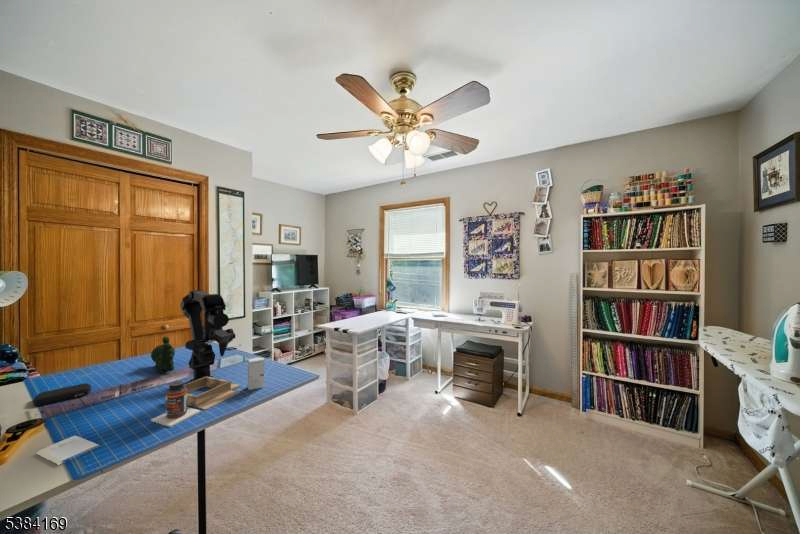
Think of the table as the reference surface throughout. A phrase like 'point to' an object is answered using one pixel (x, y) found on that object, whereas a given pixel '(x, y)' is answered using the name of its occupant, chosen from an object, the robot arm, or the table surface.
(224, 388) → the carton
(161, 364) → the dark green lumpy piece
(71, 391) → the carrying case or bag
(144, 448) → the table surface
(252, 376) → the skincare box
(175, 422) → the grey mat
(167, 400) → the supplement bottle
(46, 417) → the table surface
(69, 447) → the external hard drive
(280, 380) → the table surface
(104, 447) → the table surface
